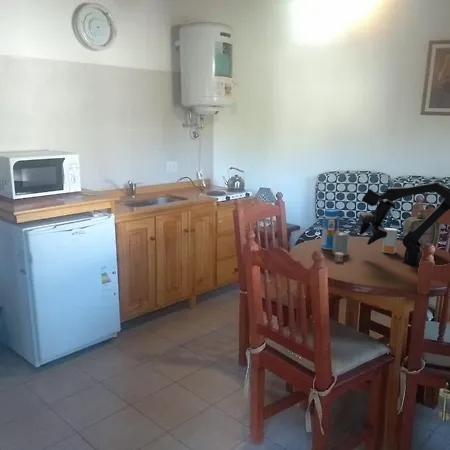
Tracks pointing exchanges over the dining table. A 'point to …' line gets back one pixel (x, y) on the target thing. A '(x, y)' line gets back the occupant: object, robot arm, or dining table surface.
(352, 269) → the dining table surface
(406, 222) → the tabletop clock
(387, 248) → the skincare box
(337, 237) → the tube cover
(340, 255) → the taped cardboard box
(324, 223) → the beverage bottle
